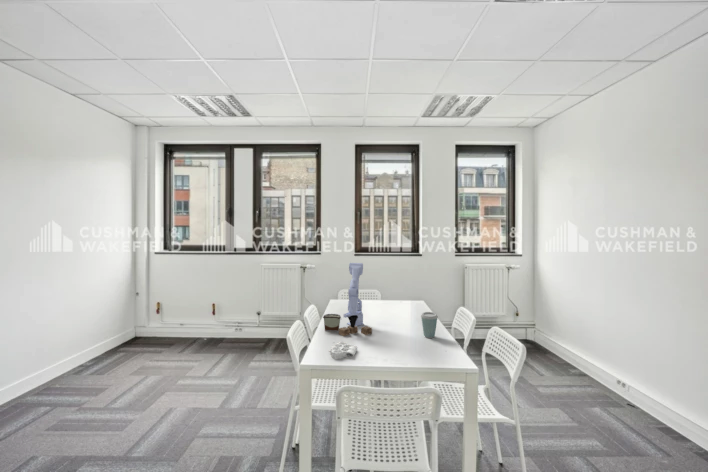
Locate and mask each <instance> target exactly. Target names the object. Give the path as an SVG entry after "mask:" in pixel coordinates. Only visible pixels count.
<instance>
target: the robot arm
mask: <svg viewBox="0 0 708 472" xmlns="http://www.w3.org/2000/svg"><path fill="white" fill-rule="evenodd" d="M348 269H349V270H348V271H349V274H350V275H351V278H352V279H350V282H349V288H348V295H347V296H348V301H347V312H346V313H343V318H346V319H348V320H349V322H347V323H346V325H348V326H351V327H354V326H357V327H359V326H361V325H362V326H363V325H364V313H363V311H362V310H363V304H362V303H363V301H362V300H361V299H360V298H359V295H360V294H359V291H360V290H359V288H360V287H359V286H360V285H359V284H360V276H362V275H363V273H364V270H363V269H364V263H363V262H349V264H348Z"/></svg>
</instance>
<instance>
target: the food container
mask: <svg viewBox="0 0 708 472" xmlns="http://www.w3.org/2000/svg"><path fill="white" fill-rule="evenodd" d="M322 318H323V322H324V323H323V324H324V331H326V332H327V331H329V332H330V331H331V332H339V328H340V323H341V319H342V317H341V315H340V314H337V313H328V314H324V315H323V317H322Z"/></svg>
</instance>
